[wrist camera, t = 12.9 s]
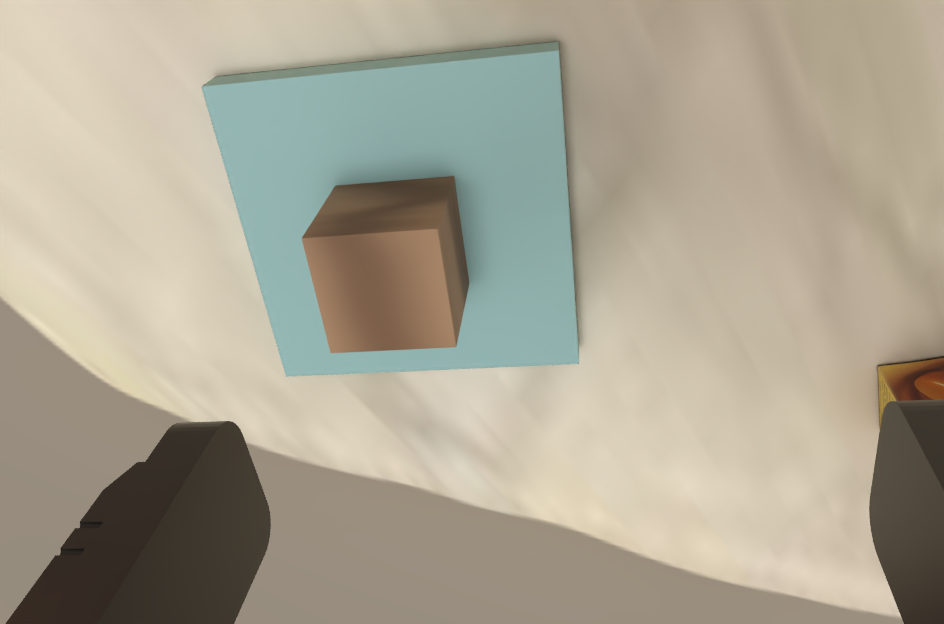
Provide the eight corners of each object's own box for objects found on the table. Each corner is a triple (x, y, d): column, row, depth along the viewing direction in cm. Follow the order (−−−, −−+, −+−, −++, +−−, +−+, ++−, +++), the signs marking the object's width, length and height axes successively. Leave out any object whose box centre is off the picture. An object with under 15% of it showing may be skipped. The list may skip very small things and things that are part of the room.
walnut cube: (454, 176, 32) (437, 228, 28) (469, 283, 35) (456, 347, 31) (335, 185, 33) (301, 238, 29) (358, 290, 36) (330, 353, 31)
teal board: (558, 41, 31) (558, 50, 29) (578, 345, 38) (579, 363, 36) (215, 76, 33) (201, 86, 31) (295, 359, 40) (286, 376, 39)
